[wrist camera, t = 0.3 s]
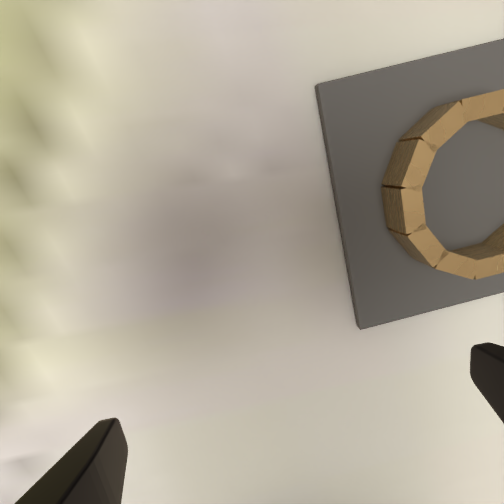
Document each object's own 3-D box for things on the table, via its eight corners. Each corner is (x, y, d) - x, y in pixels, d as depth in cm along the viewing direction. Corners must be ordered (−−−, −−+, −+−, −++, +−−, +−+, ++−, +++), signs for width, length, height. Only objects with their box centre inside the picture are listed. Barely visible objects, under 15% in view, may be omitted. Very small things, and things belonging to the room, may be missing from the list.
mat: (570, 269, 25) (579, 272, 24) (357, 325, 24) (360, 329, 24) (570, 24, 21) (580, 20, 20) (314, 86, 20) (317, 83, 20)
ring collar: (540, 244, 23) (577, 253, 21) (394, 282, 23) (414, 295, 21) (536, 82, 21) (577, 70, 18) (371, 122, 21) (391, 116, 18)
